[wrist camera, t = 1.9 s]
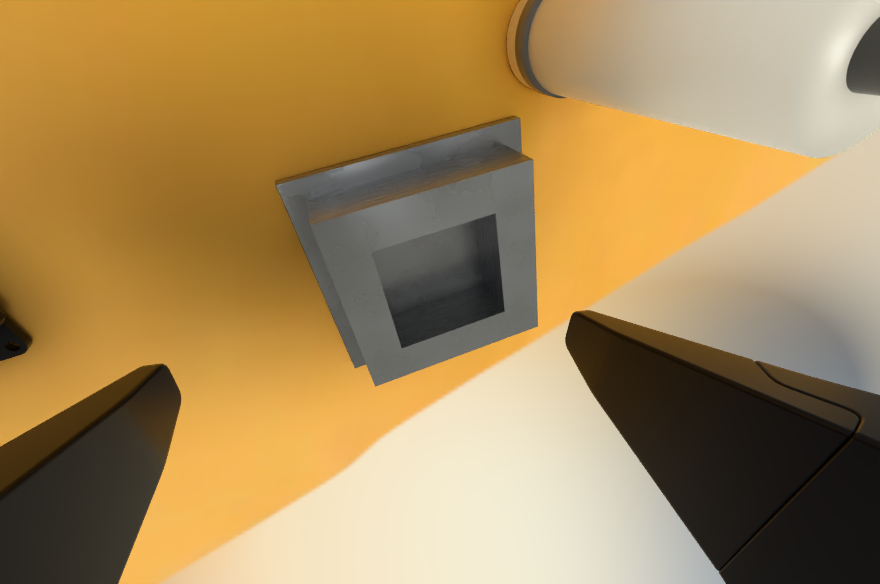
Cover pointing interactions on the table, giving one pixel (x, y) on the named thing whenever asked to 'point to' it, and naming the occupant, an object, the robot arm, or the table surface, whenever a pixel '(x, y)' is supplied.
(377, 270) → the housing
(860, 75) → the white bottle
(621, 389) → the robot arm
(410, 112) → the table surface
